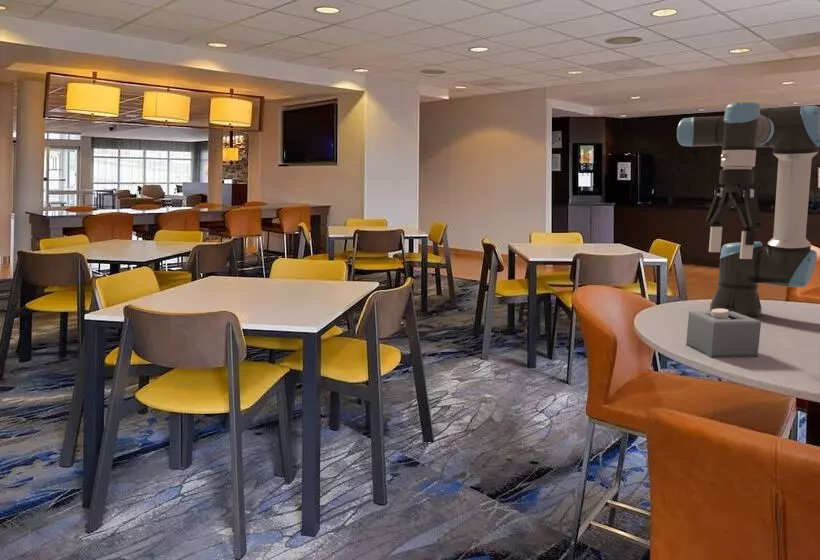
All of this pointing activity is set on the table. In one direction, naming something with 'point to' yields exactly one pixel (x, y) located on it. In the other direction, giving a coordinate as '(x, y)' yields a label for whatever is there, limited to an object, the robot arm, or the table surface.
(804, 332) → the table surface
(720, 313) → the pill bottle
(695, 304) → the table surface
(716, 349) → the drop box
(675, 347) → the table surface
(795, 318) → the table surface
